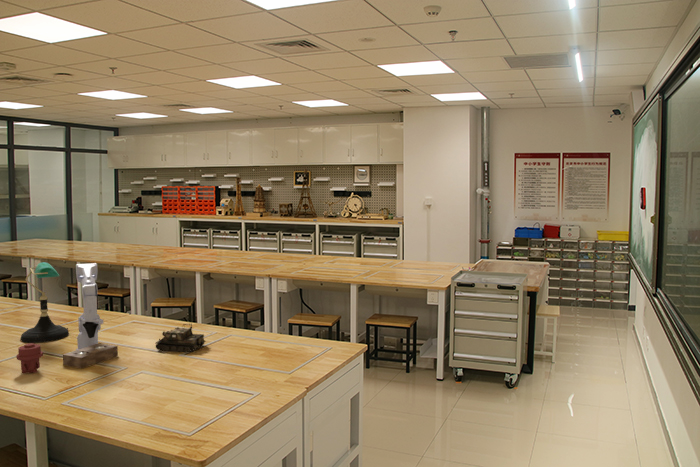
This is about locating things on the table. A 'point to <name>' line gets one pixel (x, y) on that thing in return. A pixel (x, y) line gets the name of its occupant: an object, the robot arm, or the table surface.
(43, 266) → the banker's lamp
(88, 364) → the walnut block
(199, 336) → the model tank
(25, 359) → the mechanical component
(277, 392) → the table surface
